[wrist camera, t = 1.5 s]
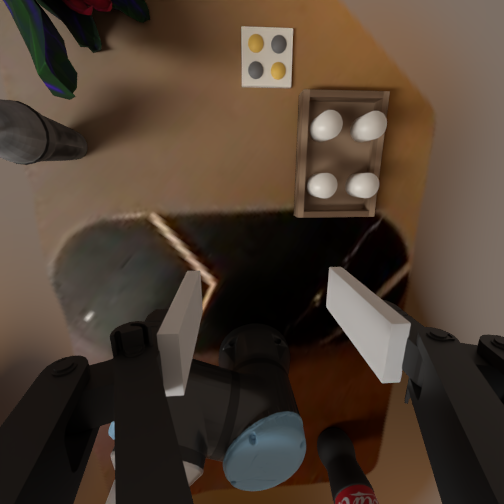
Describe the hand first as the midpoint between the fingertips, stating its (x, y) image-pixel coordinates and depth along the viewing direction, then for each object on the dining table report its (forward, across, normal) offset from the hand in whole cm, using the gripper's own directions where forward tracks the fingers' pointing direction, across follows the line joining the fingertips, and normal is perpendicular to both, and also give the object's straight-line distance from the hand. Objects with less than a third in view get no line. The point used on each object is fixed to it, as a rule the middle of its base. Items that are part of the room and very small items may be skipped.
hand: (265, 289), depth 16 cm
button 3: (+31, -13, -6) cm, 34 cm away
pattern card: (+33, -4, -25) cm, 42 cm away
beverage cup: (+33, +28, -12) cm, 45 cm away
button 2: (+31, -20, -15) cm, 40 cm away
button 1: (+31, -20, -6) cm, 37 cm away
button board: (+33, -16, -10) cm, 38 cm away
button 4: (+31, -13, -15) cm, 37 cm away
